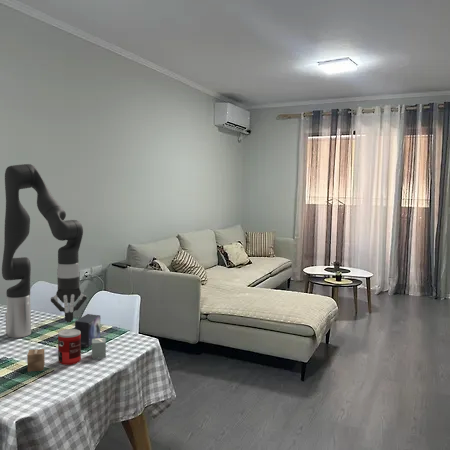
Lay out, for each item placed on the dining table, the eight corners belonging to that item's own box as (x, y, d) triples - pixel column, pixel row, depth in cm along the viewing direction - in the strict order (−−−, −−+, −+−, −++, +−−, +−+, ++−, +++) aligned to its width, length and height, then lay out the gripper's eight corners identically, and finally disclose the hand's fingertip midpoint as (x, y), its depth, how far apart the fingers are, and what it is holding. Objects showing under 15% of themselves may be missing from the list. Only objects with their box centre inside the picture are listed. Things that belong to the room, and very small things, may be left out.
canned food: (61, 357, 169) (61, 328, 168) (83, 357, 170) (82, 328, 169) (55, 365, 161) (55, 335, 160) (78, 365, 162) (78, 335, 161)
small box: (88, 347, 179) (88, 322, 178) (74, 346, 180) (73, 321, 179) (101, 338, 189) (101, 314, 188) (87, 337, 191) (87, 313, 189)
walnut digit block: (27, 371, 156) (27, 354, 155) (29, 366, 161) (29, 349, 160) (43, 370, 157) (42, 353, 157) (44, 364, 162) (44, 348, 161)
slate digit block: (92, 358, 168) (91, 343, 168) (92, 353, 173) (92, 338, 172) (105, 357, 170) (105, 341, 169) (105, 352, 174) (105, 337, 174)
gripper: (48, 278, 156) (49, 326, 158) (88, 276, 161) (88, 323, 163) (48, 274, 163) (49, 320, 165) (86, 272, 168) (87, 317, 170)
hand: (69, 321), depth 164 cm, fingers closed
